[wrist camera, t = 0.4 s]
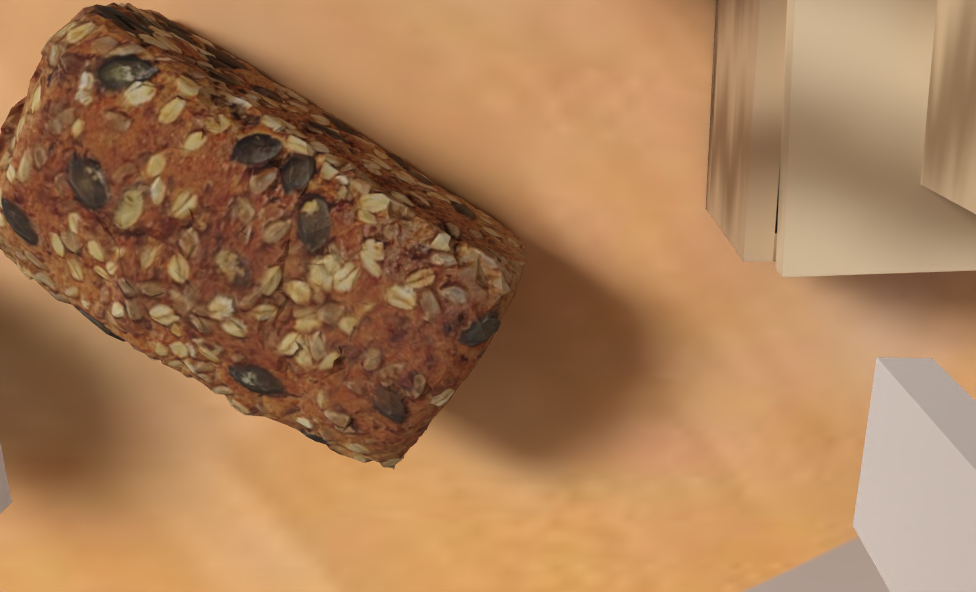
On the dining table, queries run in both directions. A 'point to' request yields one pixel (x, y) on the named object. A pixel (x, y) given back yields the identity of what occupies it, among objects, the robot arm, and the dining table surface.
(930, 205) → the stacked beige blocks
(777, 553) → the dining table surface
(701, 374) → the dining table surface
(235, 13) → the dining table surface
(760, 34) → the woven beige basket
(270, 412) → the bread
